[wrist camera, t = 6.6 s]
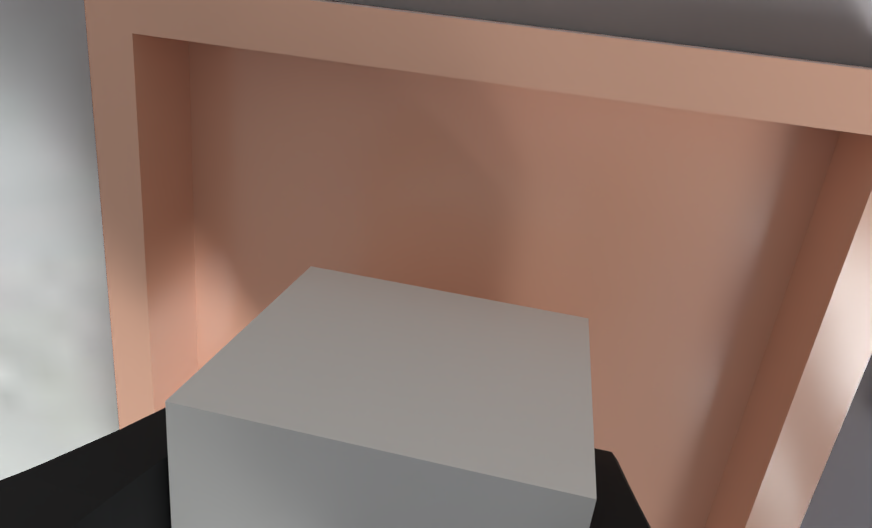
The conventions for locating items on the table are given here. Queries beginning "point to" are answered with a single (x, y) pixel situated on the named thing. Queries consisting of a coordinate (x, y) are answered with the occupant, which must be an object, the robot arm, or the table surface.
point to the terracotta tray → (506, 214)
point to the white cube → (387, 414)
